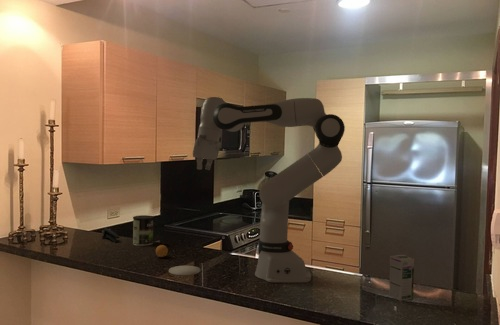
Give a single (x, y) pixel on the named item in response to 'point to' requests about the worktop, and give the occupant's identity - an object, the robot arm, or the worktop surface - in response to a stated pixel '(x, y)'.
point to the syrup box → (401, 277)
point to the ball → (161, 251)
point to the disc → (184, 270)
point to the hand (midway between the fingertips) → (203, 169)
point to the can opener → (110, 235)
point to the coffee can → (142, 230)
